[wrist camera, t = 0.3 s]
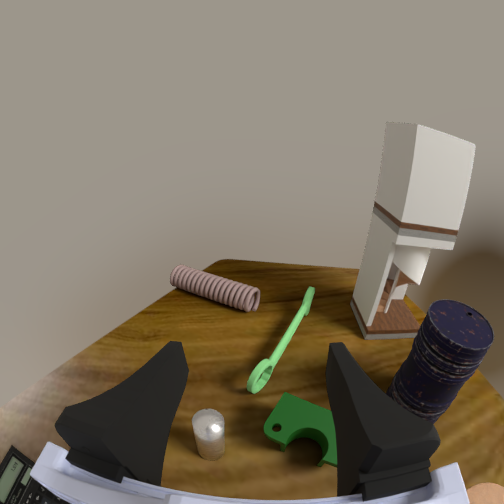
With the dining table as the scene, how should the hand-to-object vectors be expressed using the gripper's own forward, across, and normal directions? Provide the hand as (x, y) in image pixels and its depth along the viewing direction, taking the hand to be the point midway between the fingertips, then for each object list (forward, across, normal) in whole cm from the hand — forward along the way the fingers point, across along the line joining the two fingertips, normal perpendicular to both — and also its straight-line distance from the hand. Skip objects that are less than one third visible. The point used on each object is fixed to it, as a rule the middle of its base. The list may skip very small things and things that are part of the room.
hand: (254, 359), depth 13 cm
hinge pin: (+5, +6, +20) cm, 22 cm away
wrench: (+25, -2, +21) cm, 33 cm away
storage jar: (+13, -21, +23) cm, 34 cm away
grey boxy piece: (+33, -21, +22) cm, 45 cm away
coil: (+36, +12, +18) cm, 42 cm away
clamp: (+7, -5, +22) cm, 23 cm away
